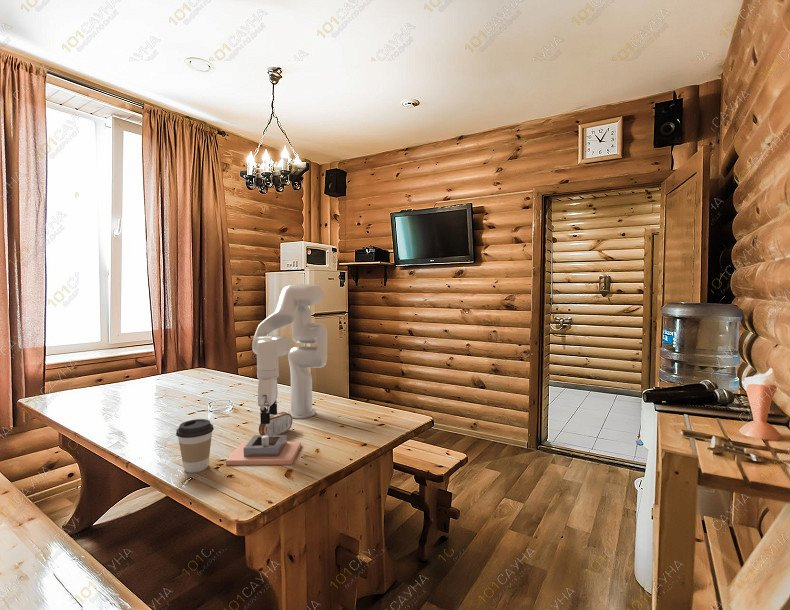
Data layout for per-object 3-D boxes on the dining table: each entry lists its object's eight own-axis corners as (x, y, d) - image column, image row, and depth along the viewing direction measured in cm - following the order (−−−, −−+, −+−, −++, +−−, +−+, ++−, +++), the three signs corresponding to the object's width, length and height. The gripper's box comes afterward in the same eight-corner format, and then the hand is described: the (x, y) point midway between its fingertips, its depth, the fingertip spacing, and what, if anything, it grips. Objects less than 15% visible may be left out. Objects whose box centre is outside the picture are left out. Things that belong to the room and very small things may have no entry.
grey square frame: (254, 443, 156) (254, 435, 156) (286, 442, 156) (286, 434, 156) (243, 456, 144) (243, 448, 144) (278, 456, 144) (278, 447, 144)
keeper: (242, 445, 157) (241, 427, 157) (301, 445, 158) (300, 427, 157) (225, 464, 141) (225, 444, 141) (291, 464, 142) (291, 443, 141)
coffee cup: (194, 458, 146) (193, 416, 145) (222, 462, 143) (221, 419, 142) (168, 473, 135) (167, 427, 134) (197, 478, 132) (196, 431, 131)
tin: (288, 428, 175) (288, 409, 175) (293, 430, 173) (293, 410, 173) (258, 439, 163) (257, 418, 163) (263, 441, 161) (262, 420, 161)
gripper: (264, 367, 161) (265, 411, 162) (250, 379, 144) (251, 427, 145) (284, 367, 161) (285, 411, 163) (271, 379, 144) (273, 427, 145)
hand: (269, 418), depth 154 cm, fingers open, 9 cm apart
